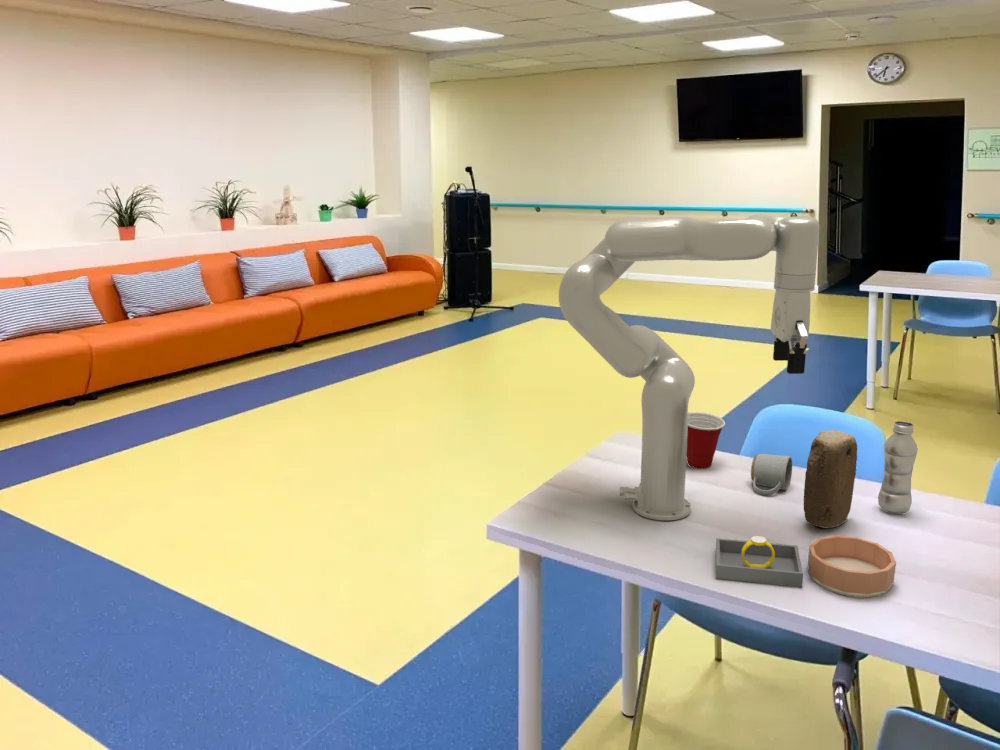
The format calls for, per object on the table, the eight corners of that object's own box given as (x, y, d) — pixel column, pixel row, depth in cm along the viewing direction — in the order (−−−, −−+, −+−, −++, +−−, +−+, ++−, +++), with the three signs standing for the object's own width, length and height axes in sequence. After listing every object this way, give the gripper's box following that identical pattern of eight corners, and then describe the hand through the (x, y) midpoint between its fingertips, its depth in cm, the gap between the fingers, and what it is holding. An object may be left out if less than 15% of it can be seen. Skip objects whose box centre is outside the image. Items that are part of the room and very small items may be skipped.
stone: (828, 537, 177) (837, 445, 171) (795, 526, 182) (804, 436, 176) (854, 519, 185) (864, 430, 179) (822, 509, 189) (831, 422, 184)
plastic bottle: (902, 520, 184) (913, 431, 178) (870, 510, 189) (881, 423, 183) (915, 511, 188) (927, 424, 182) (884, 502, 193) (895, 416, 187)
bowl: (812, 592, 156) (815, 568, 155) (804, 555, 170) (806, 532, 168) (899, 601, 153) (902, 576, 152) (883, 562, 166) (886, 539, 165)
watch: (742, 571, 164) (742, 542, 162) (740, 564, 167) (740, 536, 165) (775, 571, 163) (775, 542, 161) (773, 563, 166) (773, 535, 164)
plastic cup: (709, 476, 208) (712, 429, 204) (669, 465, 215) (671, 419, 211) (730, 463, 215) (733, 417, 212) (691, 453, 222) (694, 408, 219)
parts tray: (715, 578, 161) (716, 565, 161) (715, 550, 172) (716, 538, 171) (801, 587, 158) (803, 573, 157) (796, 558, 168) (797, 545, 168)
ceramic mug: (756, 476, 207) (758, 446, 205) (791, 482, 204) (794, 452, 201) (745, 493, 199) (747, 462, 196) (781, 500, 195) (784, 468, 193)
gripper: (763, 274, 177) (757, 355, 182) (787, 289, 160) (781, 378, 165) (800, 274, 177) (794, 355, 182) (829, 289, 160) (821, 378, 165)
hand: (788, 366), depth 173 cm, fingers open, 9 cm apart
